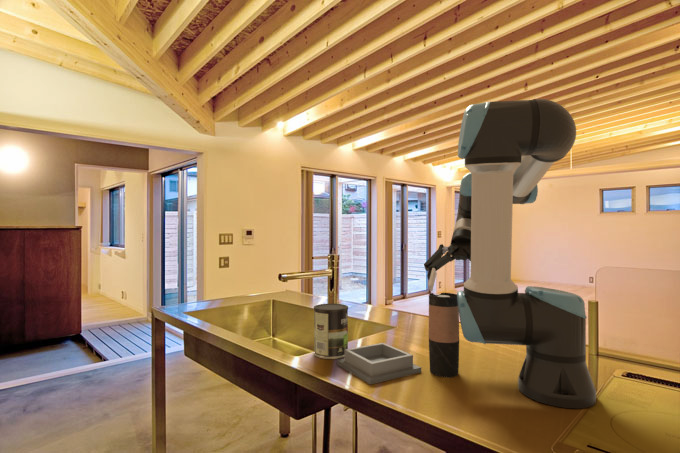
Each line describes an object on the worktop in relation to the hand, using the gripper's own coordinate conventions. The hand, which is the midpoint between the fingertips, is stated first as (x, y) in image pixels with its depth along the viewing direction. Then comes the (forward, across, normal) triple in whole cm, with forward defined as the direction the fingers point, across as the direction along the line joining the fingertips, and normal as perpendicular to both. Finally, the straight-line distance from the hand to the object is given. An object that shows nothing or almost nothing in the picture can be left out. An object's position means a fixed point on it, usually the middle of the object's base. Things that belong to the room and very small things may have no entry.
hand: (453, 289), depth 108 cm
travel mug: (+22, 0, -6) cm, 23 cm away
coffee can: (+23, +33, -5) cm, 41 cm away
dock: (+26, +16, -2) cm, 30 cm away
